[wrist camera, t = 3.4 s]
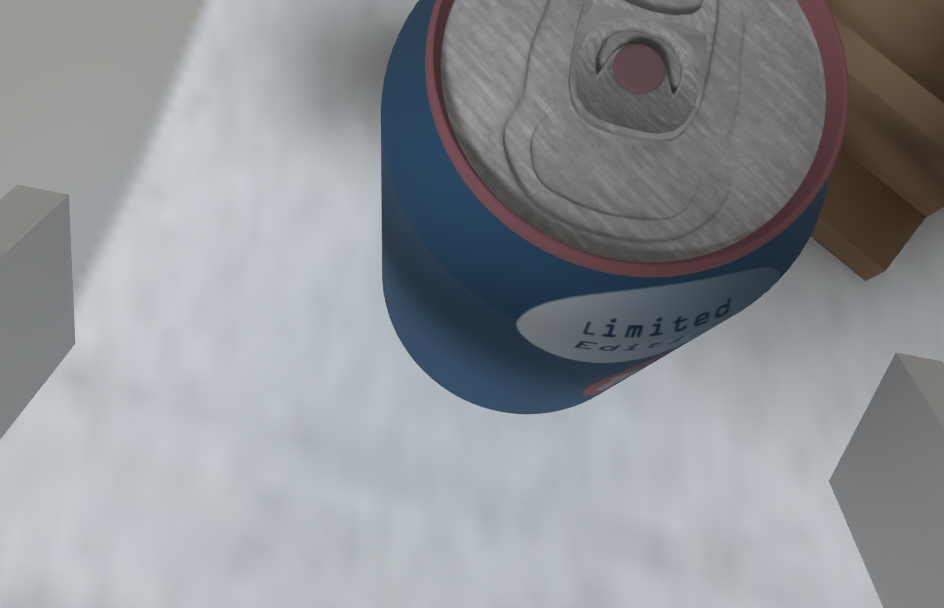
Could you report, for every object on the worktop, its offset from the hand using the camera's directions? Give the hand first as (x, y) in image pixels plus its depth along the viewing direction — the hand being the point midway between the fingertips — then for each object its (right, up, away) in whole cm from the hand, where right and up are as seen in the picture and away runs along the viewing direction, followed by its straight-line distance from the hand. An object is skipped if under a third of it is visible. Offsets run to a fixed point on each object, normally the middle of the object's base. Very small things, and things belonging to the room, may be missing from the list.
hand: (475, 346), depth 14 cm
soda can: (+1, +1, +9) cm, 9 cm away
